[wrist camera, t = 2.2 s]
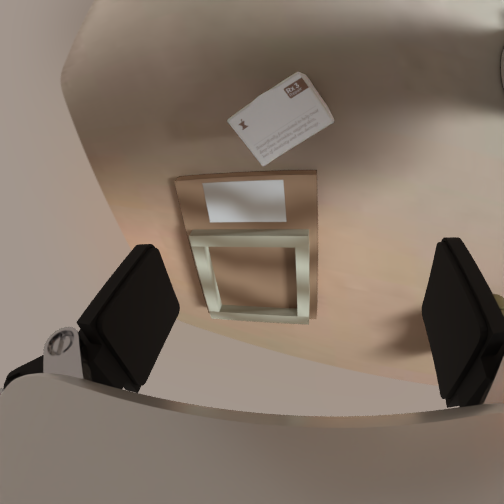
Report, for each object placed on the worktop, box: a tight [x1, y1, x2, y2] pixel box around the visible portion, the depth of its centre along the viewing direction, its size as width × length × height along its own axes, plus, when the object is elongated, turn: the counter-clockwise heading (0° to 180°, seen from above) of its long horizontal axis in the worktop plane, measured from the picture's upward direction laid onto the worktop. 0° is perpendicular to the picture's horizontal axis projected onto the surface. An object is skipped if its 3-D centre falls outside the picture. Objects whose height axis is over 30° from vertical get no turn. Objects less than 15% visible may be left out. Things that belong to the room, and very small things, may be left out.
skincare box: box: [227, 72, 334, 166], centre depth 23 cm, size 6×4×12 cm
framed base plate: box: [174, 170, 318, 324], centre depth 38 cm, size 21×16×3 cm
